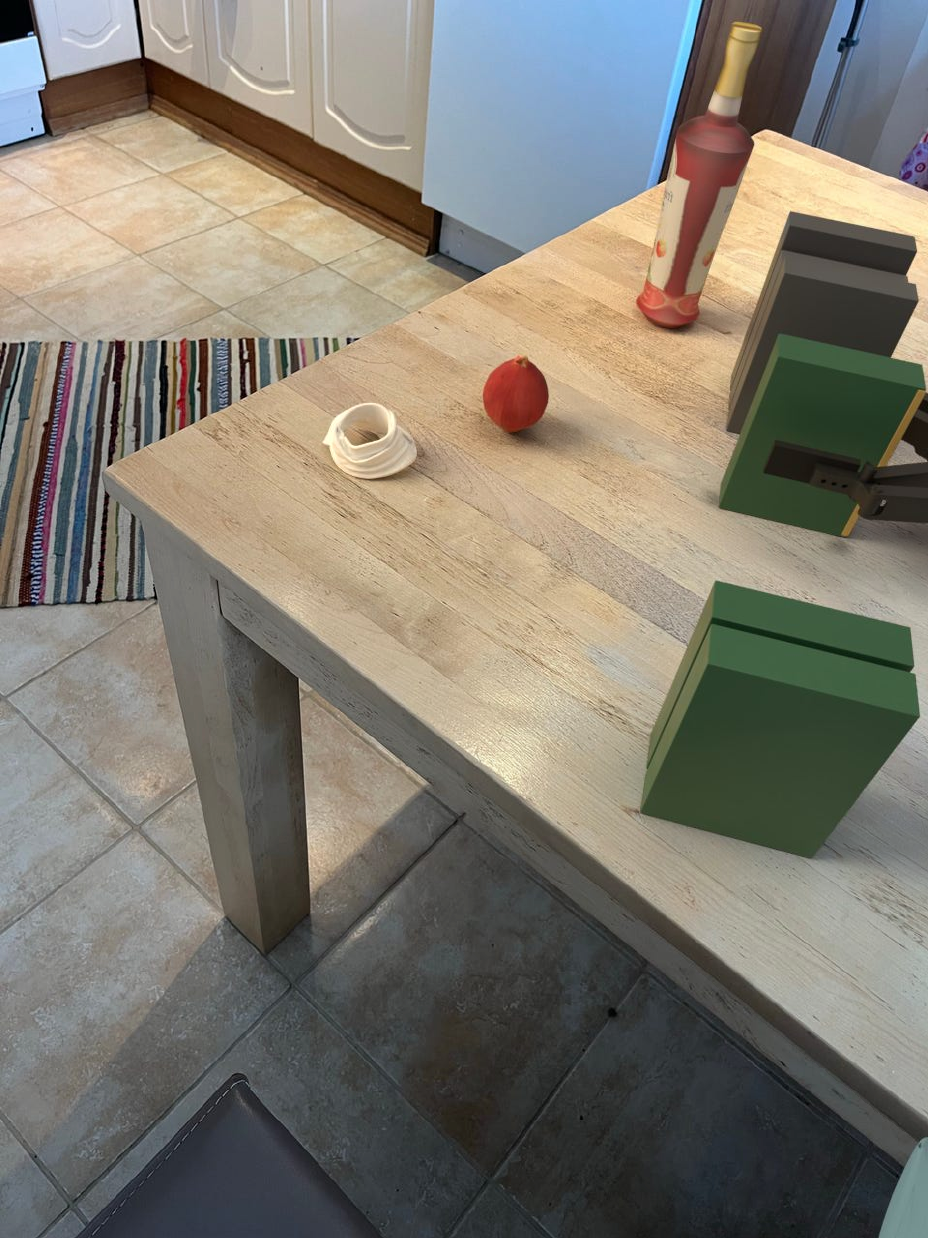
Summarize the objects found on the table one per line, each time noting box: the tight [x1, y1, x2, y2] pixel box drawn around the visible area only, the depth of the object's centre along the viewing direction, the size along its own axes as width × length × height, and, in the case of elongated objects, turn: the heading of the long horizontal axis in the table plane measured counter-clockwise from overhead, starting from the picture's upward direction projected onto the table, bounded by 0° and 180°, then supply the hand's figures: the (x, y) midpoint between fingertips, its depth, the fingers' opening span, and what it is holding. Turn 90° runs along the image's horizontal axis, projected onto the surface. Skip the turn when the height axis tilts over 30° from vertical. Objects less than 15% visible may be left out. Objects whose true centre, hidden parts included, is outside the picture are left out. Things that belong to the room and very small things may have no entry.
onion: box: [482, 353, 550, 434], centre depth 84 cm, size 6×6×8 cm
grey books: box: [725, 210, 920, 435], centre depth 86 cm, size 10×11×17 cm
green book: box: [718, 333, 927, 538], centre depth 77 cm, size 4×11×15 cm, turn 76°
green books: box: [639, 580, 921, 859], centre depth 57 cm, size 6×11×15 cm, turn 76°
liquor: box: [636, 21, 763, 329], centre depth 93 cm, size 7×7×28 cm
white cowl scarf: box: [322, 402, 418, 480], centre depth 80 cm, size 8×7×5 cm
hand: (771, 418), depth 77 cm, fingers open, 10 cm apart
